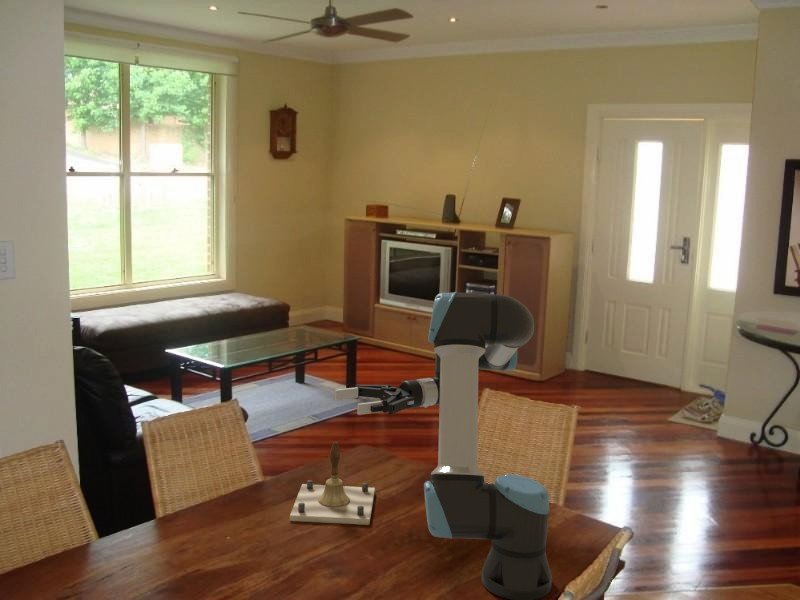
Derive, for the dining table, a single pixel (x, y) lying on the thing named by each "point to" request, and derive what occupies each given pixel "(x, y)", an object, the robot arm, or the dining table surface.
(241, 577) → the dining table surface
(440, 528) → the robot arm
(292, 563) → the dining table surface
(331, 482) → the hand bell
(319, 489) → the board
